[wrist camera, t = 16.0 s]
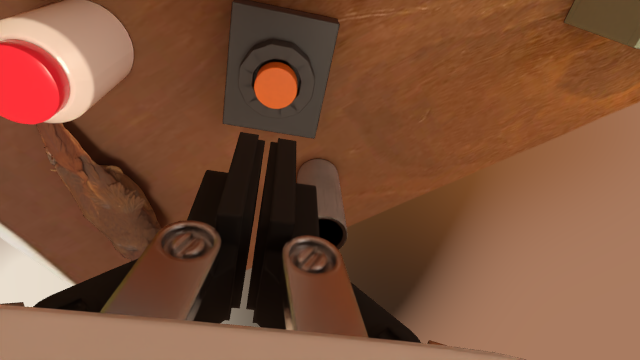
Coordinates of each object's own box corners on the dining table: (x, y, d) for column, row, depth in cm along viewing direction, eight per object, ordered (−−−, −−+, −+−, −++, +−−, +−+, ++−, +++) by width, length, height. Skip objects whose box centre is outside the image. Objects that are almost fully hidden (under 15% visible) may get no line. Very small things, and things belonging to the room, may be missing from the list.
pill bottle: (31, -7, 33) (-74, 19, 24) (126, 3, 34) (61, 31, 25) (54, 83, 37) (-27, 134, 28) (139, 90, 38) (88, 142, 29)
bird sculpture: (64, 67, 39) (26, 77, 34) (210, 255, 47) (196, 283, 43) (18, 98, 40) (-23, 111, 36) (168, 274, 49) (149, 303, 45)
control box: (235, -3, 34) (228, 5, 31) (337, 18, 35) (341, 28, 32) (226, 114, 40) (219, 132, 36) (314, 129, 41) (315, 147, 38)
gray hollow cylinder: (339, 190, 45) (348, 253, 37) (299, 194, 45) (299, 257, 37) (336, 156, 43) (346, 214, 34) (295, 160, 43) (294, 219, 34)
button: (258, 57, 33) (256, 63, 32) (300, 65, 34) (300, 72, 32) (253, 97, 35) (251, 105, 34) (293, 104, 36) (293, 112, 34)
